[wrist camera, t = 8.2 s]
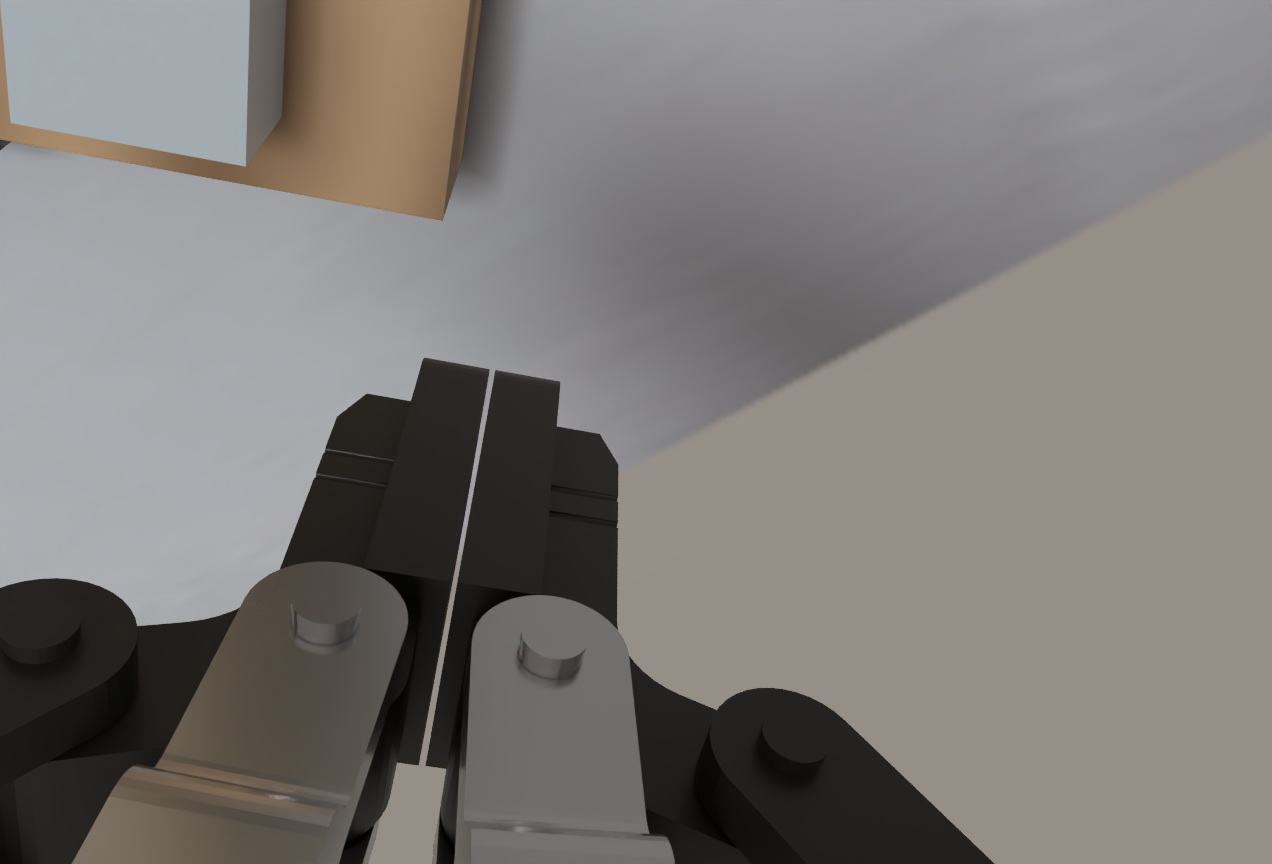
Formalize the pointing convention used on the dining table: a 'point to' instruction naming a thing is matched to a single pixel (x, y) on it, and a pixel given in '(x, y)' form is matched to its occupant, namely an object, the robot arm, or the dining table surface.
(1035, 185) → the dining table surface
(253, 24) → the pale blue-gray cube
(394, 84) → the board
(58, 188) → the dining table surface
